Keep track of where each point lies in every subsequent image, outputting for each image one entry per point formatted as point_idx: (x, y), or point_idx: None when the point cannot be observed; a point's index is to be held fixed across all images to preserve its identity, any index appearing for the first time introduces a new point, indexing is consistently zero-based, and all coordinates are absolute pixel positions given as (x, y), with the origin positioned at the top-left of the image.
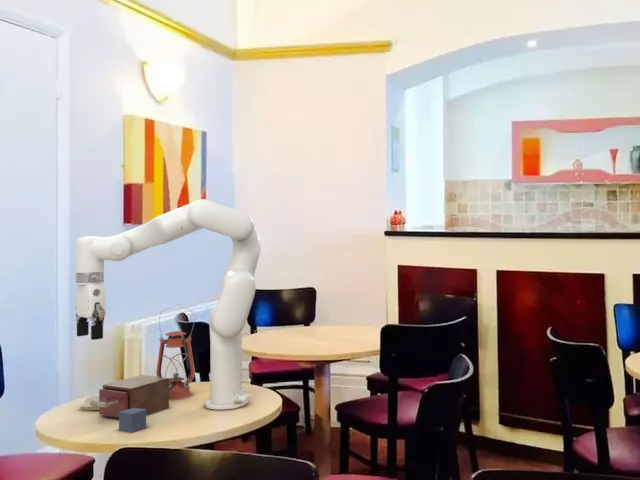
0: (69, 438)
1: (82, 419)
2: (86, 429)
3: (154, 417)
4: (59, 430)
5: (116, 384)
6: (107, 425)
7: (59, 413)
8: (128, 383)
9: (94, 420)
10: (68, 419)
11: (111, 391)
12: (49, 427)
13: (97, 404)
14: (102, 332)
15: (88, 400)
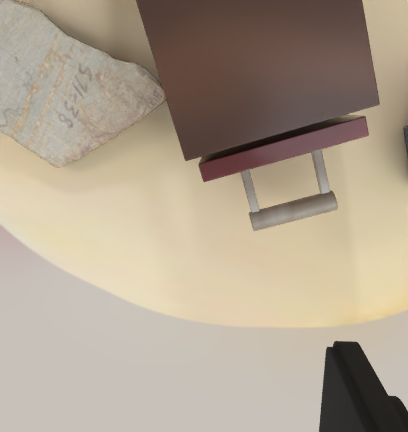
0: (356, 311)
1: (184, 208)
2: (309, 246)
3: (374, 20)
4: (251, 299)
5: (231, 111)
6: None
7: (50, 226)
8: (259, 56)
9: (228, 187)
10: (148, 236)
11: (282, 159)
12: (195, 305)
13: (295, 219)
14: (378, 387)
15: (6, 121)
